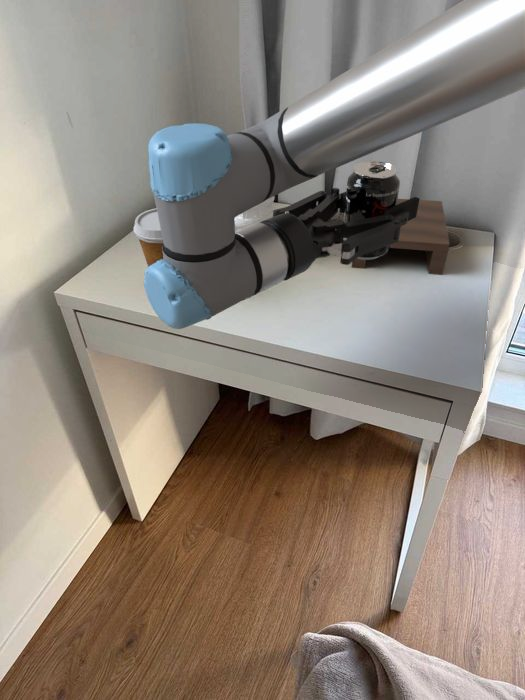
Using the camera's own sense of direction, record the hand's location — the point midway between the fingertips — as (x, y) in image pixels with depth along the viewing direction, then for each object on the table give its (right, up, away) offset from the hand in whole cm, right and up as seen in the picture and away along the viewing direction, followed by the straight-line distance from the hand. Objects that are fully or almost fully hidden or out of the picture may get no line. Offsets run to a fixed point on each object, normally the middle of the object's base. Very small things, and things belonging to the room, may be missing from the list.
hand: (393, 198), depth 70 cm
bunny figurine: (-8, +5, +34) cm, 35 cm away
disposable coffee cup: (-35, -9, +18) cm, 40 cm away
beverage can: (-4, -7, +2) cm, 8 cm away
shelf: (+7, -1, +26) cm, 27 cm away
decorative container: (-21, -2, +27) cm, 34 cm away
